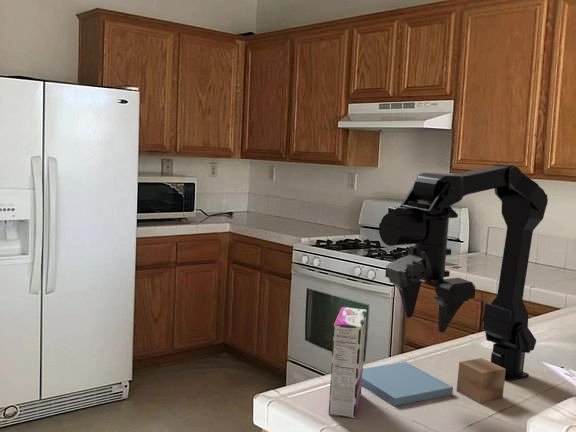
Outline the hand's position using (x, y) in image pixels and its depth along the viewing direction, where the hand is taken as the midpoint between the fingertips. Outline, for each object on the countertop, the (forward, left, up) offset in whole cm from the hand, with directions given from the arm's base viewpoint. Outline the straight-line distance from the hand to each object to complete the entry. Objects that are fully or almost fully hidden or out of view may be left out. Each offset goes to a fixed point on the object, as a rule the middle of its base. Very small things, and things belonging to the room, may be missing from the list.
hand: (424, 324), depth 119 cm
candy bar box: (+16, -1, -14) cm, 21 cm away
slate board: (+1, -4, -14) cm, 14 cm away
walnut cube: (-11, +5, -14) cm, 18 cm away
